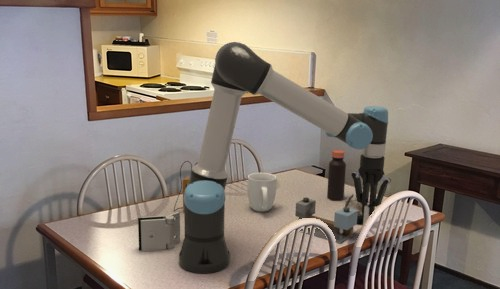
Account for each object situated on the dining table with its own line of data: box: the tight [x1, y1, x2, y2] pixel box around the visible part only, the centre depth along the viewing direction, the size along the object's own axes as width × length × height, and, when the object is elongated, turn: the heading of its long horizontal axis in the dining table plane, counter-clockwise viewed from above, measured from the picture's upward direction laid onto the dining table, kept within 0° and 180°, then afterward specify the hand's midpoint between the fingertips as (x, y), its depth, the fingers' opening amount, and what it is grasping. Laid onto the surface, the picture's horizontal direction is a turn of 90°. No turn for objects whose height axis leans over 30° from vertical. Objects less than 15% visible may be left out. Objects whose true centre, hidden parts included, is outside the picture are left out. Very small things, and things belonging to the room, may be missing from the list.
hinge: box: [137, 211, 181, 252], centre depth 157 cm, size 14×5×10 cm, turn 116°
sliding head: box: [333, 206, 358, 234], centre depth 169 cm, size 7×5×8 cm
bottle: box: [326, 149, 347, 202], centre depth 204 cm, size 7×7×20 cm
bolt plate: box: [299, 228, 351, 244], centre depth 172 cm, size 7×20×1 cm, turn 52°
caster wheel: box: [344, 194, 364, 225], centre depth 184 cm, size 7×11×10 cm
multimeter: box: [173, 160, 198, 213], centre depth 189 cm, size 15×10×20 cm
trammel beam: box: [294, 196, 354, 238], centre depth 174 cm, size 7×20×9 cm, turn 52°
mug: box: [247, 172, 277, 213], centre depth 189 cm, size 15×11×13 cm
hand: (366, 224), depth 165 cm, fingers closed
